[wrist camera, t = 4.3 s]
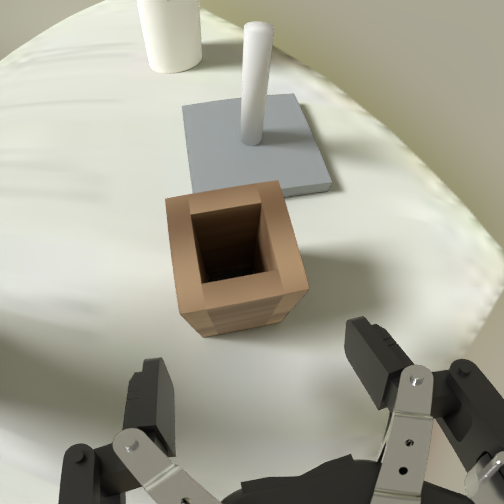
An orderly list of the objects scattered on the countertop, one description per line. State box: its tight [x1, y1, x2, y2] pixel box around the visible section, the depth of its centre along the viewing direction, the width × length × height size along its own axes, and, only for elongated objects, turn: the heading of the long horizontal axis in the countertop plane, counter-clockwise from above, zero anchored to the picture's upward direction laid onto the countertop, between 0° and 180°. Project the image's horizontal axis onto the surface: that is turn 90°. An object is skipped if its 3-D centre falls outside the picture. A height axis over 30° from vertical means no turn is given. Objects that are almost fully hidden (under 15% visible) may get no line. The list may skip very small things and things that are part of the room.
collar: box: [165, 180, 309, 337], centre depth 20 cm, size 6×6×10 cm
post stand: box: [182, 21, 332, 197], centre depth 23 cm, size 12×12×14 cm
